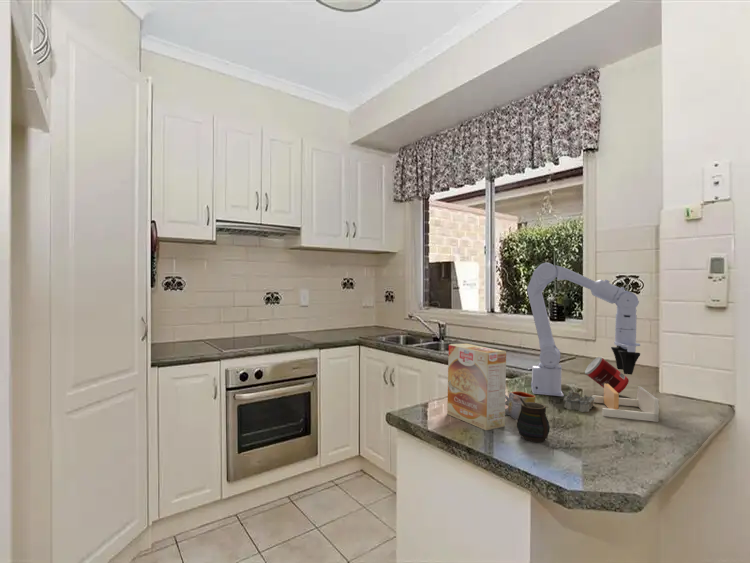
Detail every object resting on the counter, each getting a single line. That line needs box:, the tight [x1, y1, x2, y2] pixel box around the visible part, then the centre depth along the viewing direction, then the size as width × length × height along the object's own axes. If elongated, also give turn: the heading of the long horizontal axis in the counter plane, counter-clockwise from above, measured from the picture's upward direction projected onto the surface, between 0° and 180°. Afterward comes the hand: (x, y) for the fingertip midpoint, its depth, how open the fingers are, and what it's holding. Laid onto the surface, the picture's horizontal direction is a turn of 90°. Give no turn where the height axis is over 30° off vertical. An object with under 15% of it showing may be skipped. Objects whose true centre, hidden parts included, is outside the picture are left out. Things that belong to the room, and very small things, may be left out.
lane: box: [591, 385, 660, 423], centre depth 123 cm, size 14×16×6 cm
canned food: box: [584, 356, 630, 394], centre depth 141 cm, size 8×8×11 cm
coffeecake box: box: [446, 342, 507, 431], centre depth 111 cm, size 15×7×20 cm, turn 31°
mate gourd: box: [516, 398, 551, 443], centre depth 99 cm, size 7×8×10 cm
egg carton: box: [562, 389, 595, 413], centre depth 126 cm, size 11×8×4 cm
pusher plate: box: [603, 384, 620, 410], centre depth 124 cm, size 1×13×6 cm, turn 163°
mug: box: [505, 390, 537, 421], centre depth 116 cm, size 12×7×7 cm, turn 53°
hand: (624, 371), depth 133 cm, fingers open, 7 cm apart
